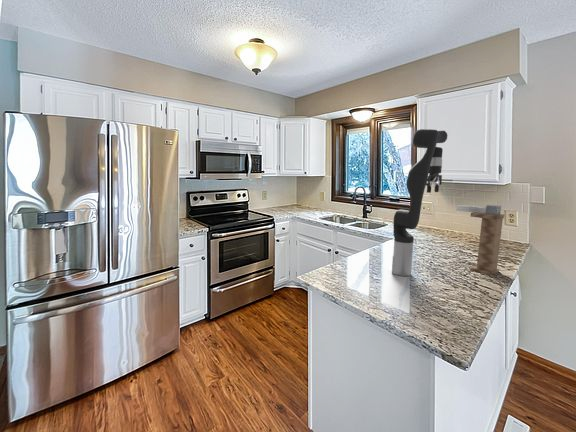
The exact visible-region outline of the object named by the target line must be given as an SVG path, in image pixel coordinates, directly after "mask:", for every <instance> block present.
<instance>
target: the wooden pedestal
mask: <svg viewBox="0 0 576 432" xmlns="http://www.w3.org/2000/svg"><path fill="white" fill-rule="evenodd" d="M470 217H472V218H479V219H481V224H480V235H479V241H478V242H479V244H478V252H477V259H476V260H477V261H476V264H475V265H472V266H471V267H469V270H470V271H471V272H472V271H473V272H478V273H481V274H484V275H489V276H492V275H494V274H496V273H499V271H500V269H499V268H498V263H499V255H500V254H499V253H500V246H501V239H502V238H501V237H502V228H503V221H504V219H505V214H504V213H500V215H491V214H483V213H473V212H470Z"/></svg>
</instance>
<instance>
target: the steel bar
mask: <svg viewBox="0 0 576 432" xmlns="http://www.w3.org/2000/svg"><path fill="white" fill-rule="evenodd" d="M455 211H456V212H465V213H483V214H491V215H500V214H502V213H501V211H502V205H497V204H496V205H495V204H487V205H486V207H485V206H473V205H463V204H459V205H456V210H455Z"/></svg>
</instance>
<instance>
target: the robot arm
mask: <svg viewBox="0 0 576 432" xmlns="http://www.w3.org/2000/svg"><path fill="white" fill-rule="evenodd" d="M447 140H448V133H447V132H446V130H437V129H431V128H430V129H426V128H425V129H423V128H421V129H418V130H416V131H415V132H414V133H413V138H412V145H413V146H414V147H415V148H419V149H426V150H425V153H424V154H423V155H422V157H421V158H420V159H419V160H418V161H417V162H416V163H415V164H414V165H413V166H412V167H411V169H410V170H409V172H408V175H407V179H406V190H407V192H408V194H409V198H410V207H409V210H407V209H397V210H396V211H395V213H394V217H393V236H394V237H393V238H394V239H393V240H394V242H393V253H392V254H393V255H392V261H391V262H392V264H391V274H393V275H395V276H396V275H397V276H400V277H409V276H411V275H412V267H413V252H414V239H415V238H414V235H412V234H411V233H409V231H408V230H415V229H416V228H417V227H418V225H419V222H420V216H421V211H422V210H421V209H422V205H423V204H422V203H423V198H424V195H425V189H426V193H432V186H433V184H434V193H439V192H440V191H439V189H440V186H442V183H443V182H442V180H443V175H442V174H441V173H442V168H443V148H442V147H438V146H437V144H444V143H445V142H446V141H447ZM426 187H427V188H426ZM407 229H408V230H407Z"/></svg>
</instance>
